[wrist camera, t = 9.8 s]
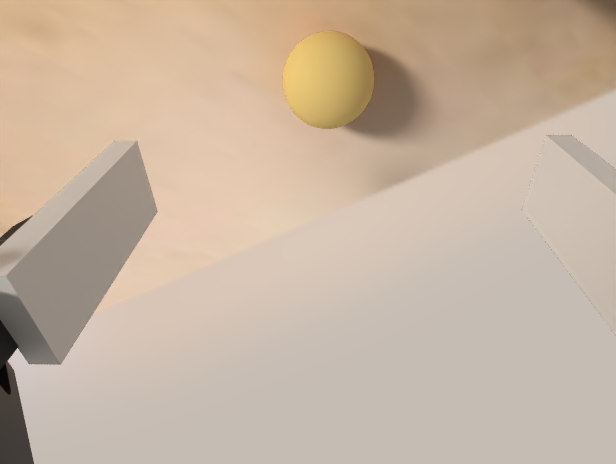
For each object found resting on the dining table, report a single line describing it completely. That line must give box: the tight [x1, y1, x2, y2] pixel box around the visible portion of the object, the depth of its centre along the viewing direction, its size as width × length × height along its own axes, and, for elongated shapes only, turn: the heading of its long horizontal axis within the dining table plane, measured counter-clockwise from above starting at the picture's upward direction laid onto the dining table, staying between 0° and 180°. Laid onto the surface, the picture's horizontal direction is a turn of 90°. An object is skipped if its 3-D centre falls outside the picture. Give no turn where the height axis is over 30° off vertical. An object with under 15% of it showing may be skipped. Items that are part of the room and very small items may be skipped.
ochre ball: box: [283, 31, 374, 129], centre depth 22 cm, size 5×5×5 cm
